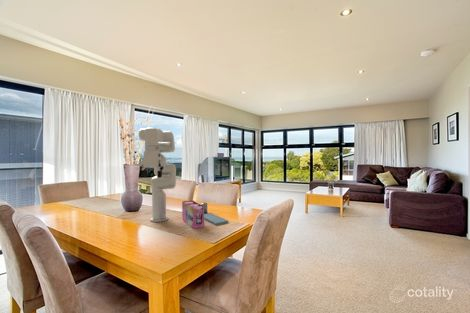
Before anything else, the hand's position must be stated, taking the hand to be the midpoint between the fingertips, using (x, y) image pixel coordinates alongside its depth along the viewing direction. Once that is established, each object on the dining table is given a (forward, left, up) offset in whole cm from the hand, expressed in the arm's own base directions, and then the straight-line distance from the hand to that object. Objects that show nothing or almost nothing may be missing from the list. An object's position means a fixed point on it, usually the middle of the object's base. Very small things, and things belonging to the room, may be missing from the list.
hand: (152, 177), depth 137 cm
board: (-2, +43, -34) cm, 55 cm away
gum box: (-4, +28, -35) cm, 45 cm away
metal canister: (-21, +46, -34) cm, 61 cm away
